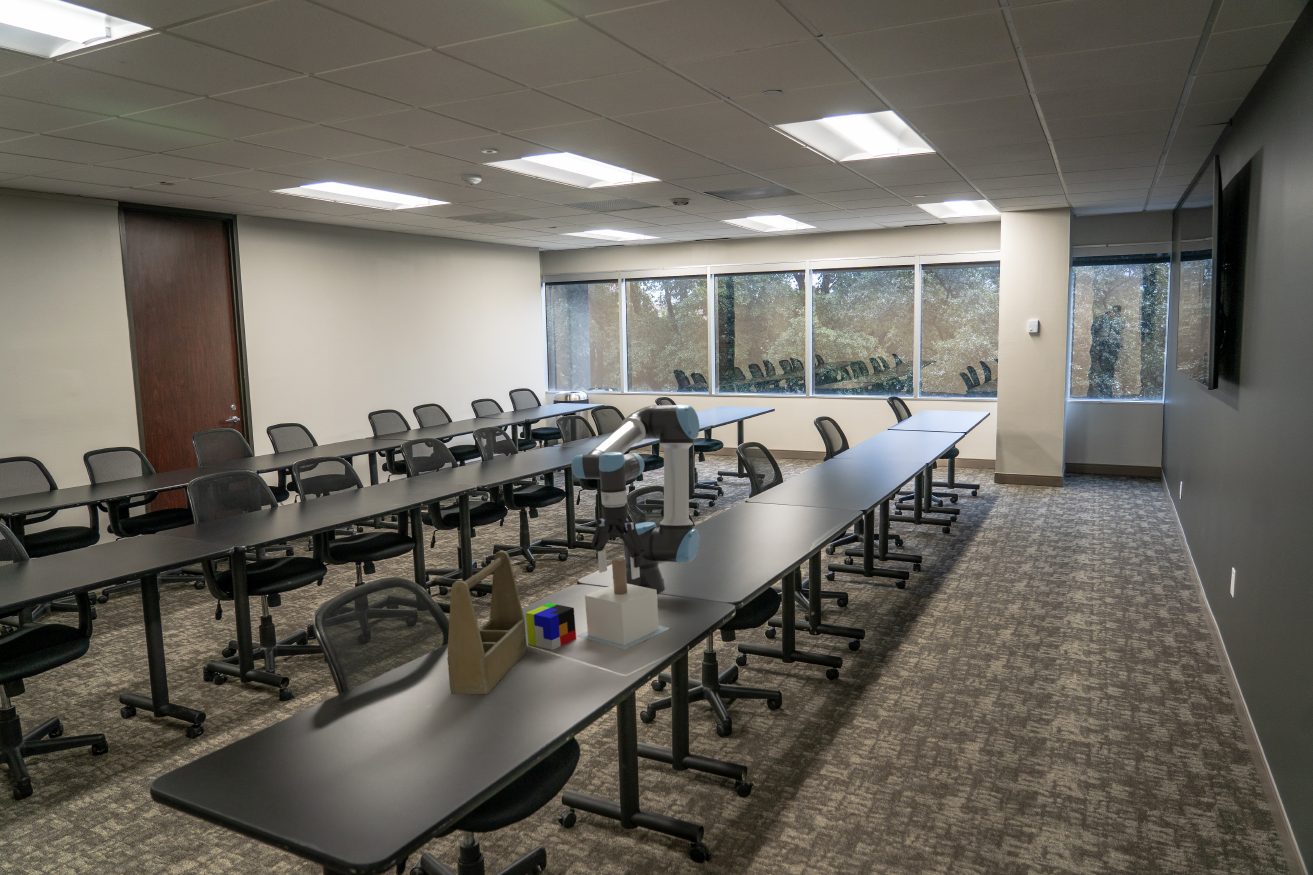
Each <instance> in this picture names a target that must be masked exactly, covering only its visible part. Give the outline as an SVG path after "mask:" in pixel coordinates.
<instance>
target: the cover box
mask: <svg viewBox="0 0 1313 875" xmlns="http://www.w3.org/2000/svg"><path fill="white" fill-rule="evenodd" d="M611 568H612V582H613V584H611V585H609V586H606V587H603V588H601V589H598V590H595V591H592V592H589V593H588V594H585V595H584V600H585V601H584V602H585V615H586V625H587V626H586V628H587V629H586V630H587V631H588V635H590V636H593V637H597V638H601V639H604V640H608V641H612V642H615V643H619V644H622V645H625V644H628V643H630V642H632V641H634V640H636V639H639V638H641V637H643V636H645V635H647V634H650V633H652V632H654V631H656V630H658V629H659V626H660V624H659V622H660V621H659V608H658V607H659V606H658V595H657V594H658V592H657V590H656V589H651V588H646V587H641V586H636V585H632V584H627V578H626V564H625V557H623V558H622V557H618V558H613V559H611Z"/></svg>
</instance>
